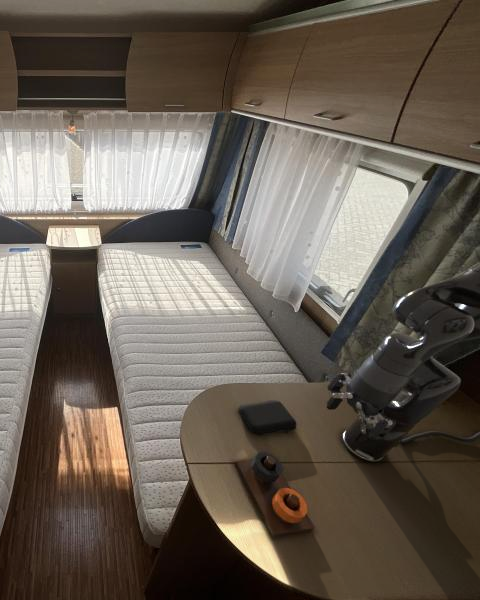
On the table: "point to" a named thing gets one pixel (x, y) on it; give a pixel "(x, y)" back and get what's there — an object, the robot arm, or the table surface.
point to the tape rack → (263, 499)
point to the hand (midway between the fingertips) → (342, 423)
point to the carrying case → (267, 417)
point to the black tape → (264, 473)
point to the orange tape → (284, 510)
